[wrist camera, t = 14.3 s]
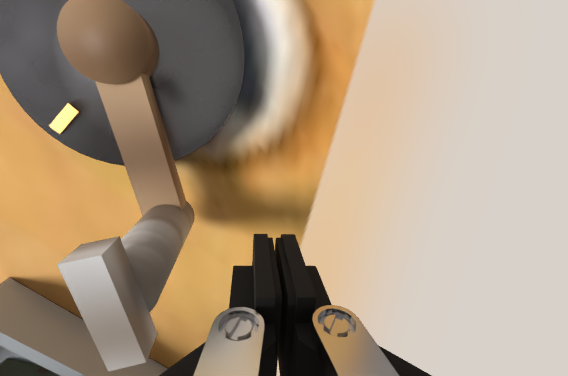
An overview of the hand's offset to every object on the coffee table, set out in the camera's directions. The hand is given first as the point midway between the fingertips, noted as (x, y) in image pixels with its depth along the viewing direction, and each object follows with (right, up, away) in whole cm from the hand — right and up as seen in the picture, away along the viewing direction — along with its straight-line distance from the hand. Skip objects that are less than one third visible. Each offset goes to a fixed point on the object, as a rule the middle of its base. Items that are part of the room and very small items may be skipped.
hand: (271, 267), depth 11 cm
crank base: (-8, +11, +4) cm, 14 cm away
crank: (-7, +6, +4) cm, 10 cm away
